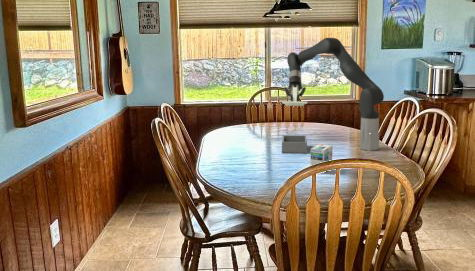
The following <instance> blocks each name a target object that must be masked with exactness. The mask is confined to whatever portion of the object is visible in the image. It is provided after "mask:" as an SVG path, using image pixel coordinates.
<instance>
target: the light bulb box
mask: <svg viewBox="0 0 475 271" xmlns="http://www.w3.org/2000/svg"><path fill="white" fill-rule="evenodd" d="M329 160H332V161H333V145H330V144H329V145H328V144H320V143H319V144H317V145H315V146H313V147H312V148H310V166H311V165H314V164H317V163H320V162H324V161H329ZM310 166H309V167H310ZM325 173H326V172H324V173H322V174H325Z"/></svg>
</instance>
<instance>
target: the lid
mask: <svg viewBox="0 0 475 271" xmlns="http://www.w3.org/2000/svg"><path fill="white" fill-rule="evenodd" d="M281 102H282V103H281V104H283V105H285V107H287V106H288V107H289V106H290V107H297V106H298V107H300V106H301V107H303V106H305V105H307V104H308V101H298V102H297V87H293V101H291V100H290V101H287V100H286V101H281Z"/></svg>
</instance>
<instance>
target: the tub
mask: <svg viewBox="0 0 475 271" xmlns="http://www.w3.org/2000/svg"><path fill="white" fill-rule="evenodd" d="M307 141H308V139H307V135H288V134H287V135H282V138H281V154H300V155H303V154H305V155H306V154H307V152H308V142H307Z"/></svg>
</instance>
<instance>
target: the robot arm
mask: <svg viewBox="0 0 475 271" xmlns="http://www.w3.org/2000/svg"><path fill="white" fill-rule="evenodd" d="M322 54H327V55H333V56H334V57H335V58H337V60H338V61H339V68H340V69H339V70H340V71H341V73H342V74H343V75H344V76H345V78H346V79H347V80H348V81H349V82H351V83H352V84H354V85H356V86H358V87H360V89H362V90H361V92H360V94H359V112H360V132H359V133H360V134H359V135H360V136H359V149H360V150H362V151H369V152H371V151H372V152H373V151H378V150H379V146H380V132H379V128H380V127H379V125H380V124H379V122H380V112H378V111H377V110H375V105H379V104H381V103H382V102H383V101H384V99H385V95H384V92H383V90H382V89H381V88H380V87H379V85H377V84H376V83H375V82H374V81H373V80H372V79H371V78H370V77H369V75H367V74H366V73H365V71H364V70H363V69H362V68H361V67H360V65H359V64H358V63H357V61H355V60H354V59H353V57H352V56H351V55H350V54H349V52H348V51H347V49H346V48H345V46H344V45H343V44H342V42H341V41H340V39H338V38H335V37H325V38H323V39H321V40H320V41H319V42H317V43H315V44H314V45H312V46H310V47H308V48H306V49H303V50H301V51H300V52H299V53H298V54H297V53H296V52H290V53H288V55H287V58H286V61H287V66H288V68H289V76H288V85H287V87H286V86H284V87H283V88H284V90H283V91H284V92H285V94H286V96H287V97H290V101H293V87H297V102H300V97H303V95H304V94H305V92H306V91H307V90H306V89H307V88H306V86H302V73H301V72H302V71H301V70H302V68H301V67H302V66H303V65H304V64H305V63H306V62H308V61H311V60H313V59H314V58H315V57H317V56H318V55H322Z"/></svg>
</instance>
